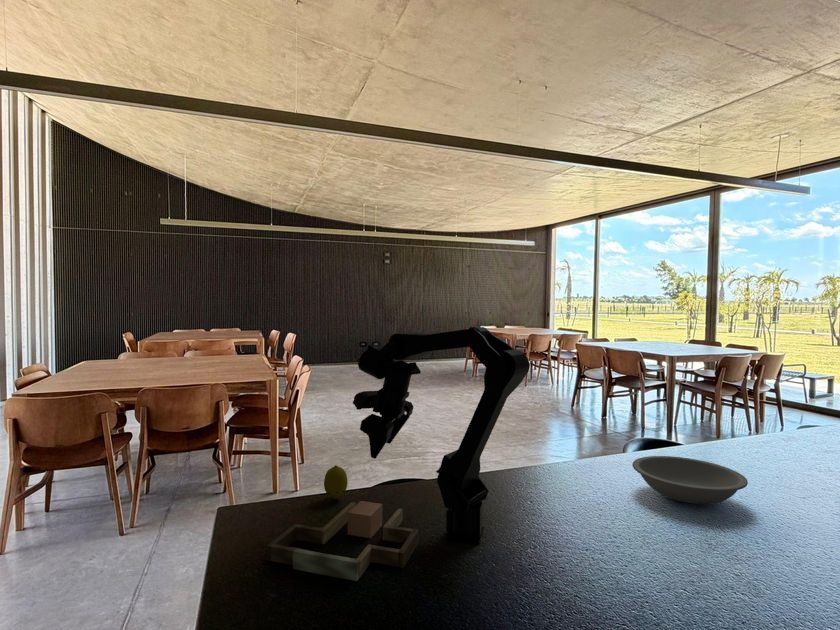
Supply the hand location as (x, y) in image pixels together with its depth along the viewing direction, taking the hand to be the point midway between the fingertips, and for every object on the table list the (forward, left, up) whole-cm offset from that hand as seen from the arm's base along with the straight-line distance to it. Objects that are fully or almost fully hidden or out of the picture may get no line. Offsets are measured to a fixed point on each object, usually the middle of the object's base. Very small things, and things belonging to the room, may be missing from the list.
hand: (381, 450), depth 102 cm
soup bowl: (-69, -27, -13) cm, 76 cm away
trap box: (-1, +17, -13) cm, 21 cm away
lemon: (+12, 0, -13) cm, 17 cm away
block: (-1, +12, -13) cm, 18 cm away
